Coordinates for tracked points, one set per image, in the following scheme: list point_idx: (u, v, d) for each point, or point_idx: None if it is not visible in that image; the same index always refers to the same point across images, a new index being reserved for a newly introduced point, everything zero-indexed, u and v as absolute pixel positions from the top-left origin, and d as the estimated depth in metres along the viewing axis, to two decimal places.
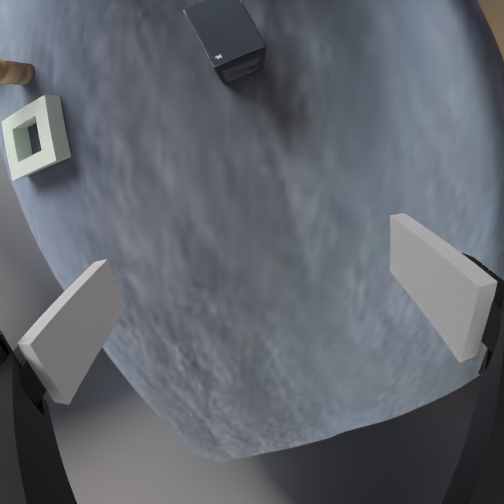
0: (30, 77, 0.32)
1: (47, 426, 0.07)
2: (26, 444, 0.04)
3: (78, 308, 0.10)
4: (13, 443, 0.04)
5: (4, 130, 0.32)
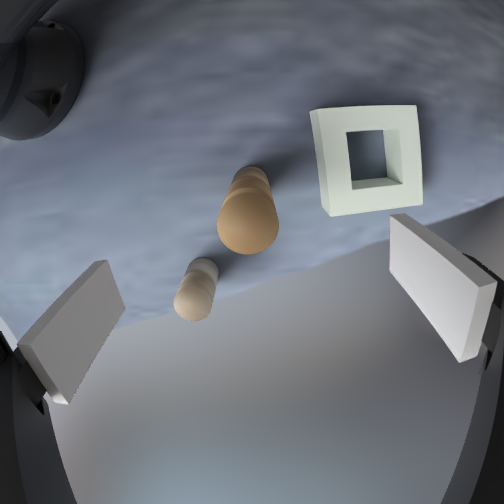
0: (261, 170, 0.30)
1: (47, 426, 0.07)
2: (26, 444, 0.04)
3: (78, 308, 0.10)
4: (13, 443, 0.04)
5: (347, 210, 0.28)
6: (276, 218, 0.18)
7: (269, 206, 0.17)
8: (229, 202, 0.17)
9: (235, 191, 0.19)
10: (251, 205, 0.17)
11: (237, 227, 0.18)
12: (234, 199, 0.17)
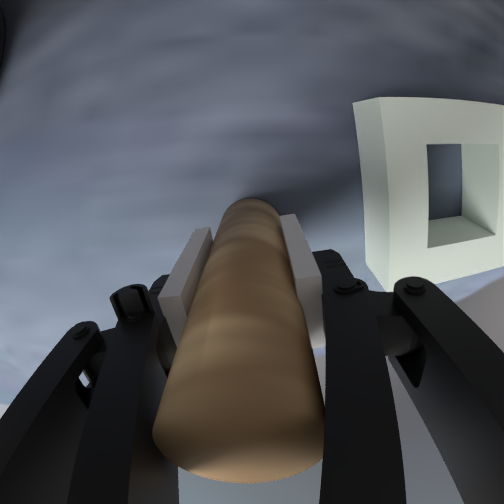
0: (269, 206, 0.17)
1: None
2: (146, 427, 0.05)
3: (201, 267, 0.12)
4: (130, 426, 0.05)
5: None
6: None
7: (310, 418, 0.05)
8: (178, 407, 0.05)
9: (205, 327, 0.07)
10: (251, 417, 0.05)
11: (210, 451, 0.05)
12: (193, 403, 0.05)
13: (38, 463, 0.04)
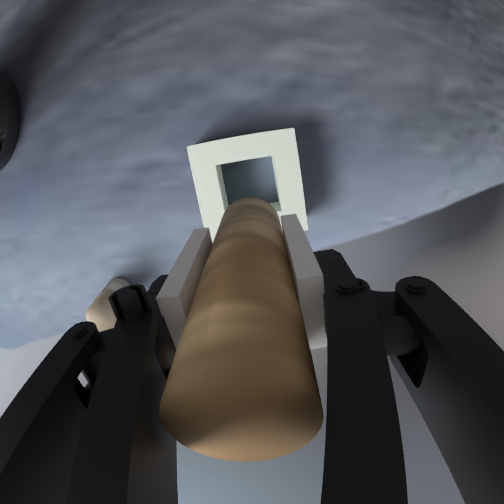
0: (268, 204, 0.18)
1: None
2: (145, 427, 0.05)
3: (199, 268, 0.12)
4: (129, 426, 0.05)
5: None
6: (319, 412, 0.06)
7: (303, 392, 0.05)
8: (184, 381, 0.05)
9: (209, 312, 0.07)
10: (250, 391, 0.05)
11: (213, 427, 0.06)
12: (198, 376, 0.05)
13: (37, 463, 0.04)
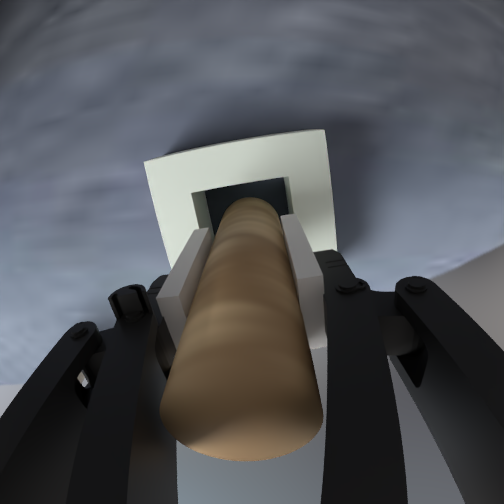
0: (268, 204, 0.18)
1: None
2: (144, 427, 0.05)
3: (199, 268, 0.12)
4: (129, 426, 0.05)
5: None
6: (319, 412, 0.06)
7: (303, 392, 0.05)
8: (185, 381, 0.05)
9: (209, 312, 0.07)
10: (250, 390, 0.05)
11: (213, 427, 0.06)
12: (198, 376, 0.05)
13: (37, 463, 0.04)
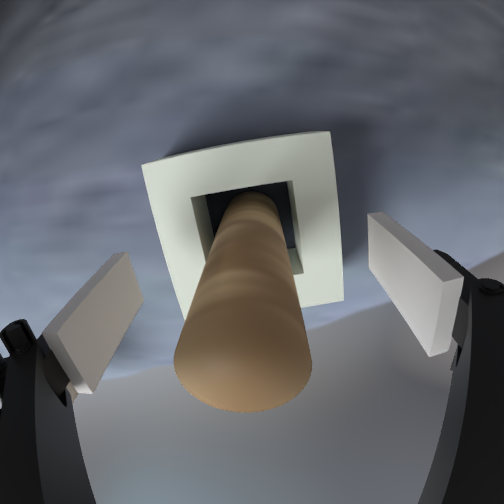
0: (268, 198, 0.19)
1: (69, 418, 0.07)
2: (46, 438, 0.05)
3: (101, 298, 0.11)
4: (33, 437, 0.04)
5: None
6: (308, 358, 0.07)
7: (294, 337, 0.07)
8: (197, 327, 0.07)
9: (216, 278, 0.09)
10: (250, 335, 0.07)
11: (219, 374, 0.08)
12: (208, 322, 0.07)
13: None
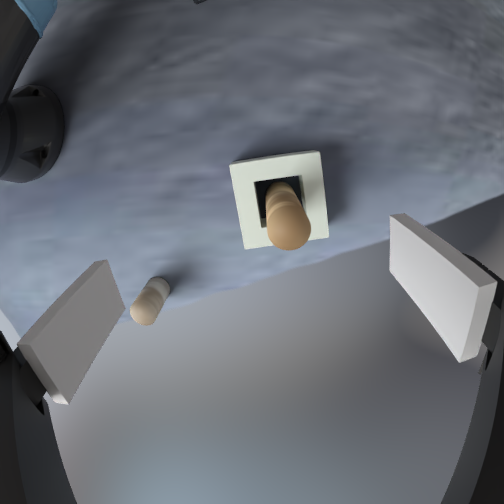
0: None
1: (47, 426, 0.07)
2: (26, 444, 0.04)
3: (78, 308, 0.10)
4: (13, 443, 0.04)
5: (258, 244, 0.36)
6: (309, 224, 0.25)
7: (305, 215, 0.24)
8: (276, 212, 0.24)
9: (278, 204, 0.26)
10: (292, 214, 0.24)
11: (281, 230, 0.25)
12: (280, 210, 0.24)
13: None
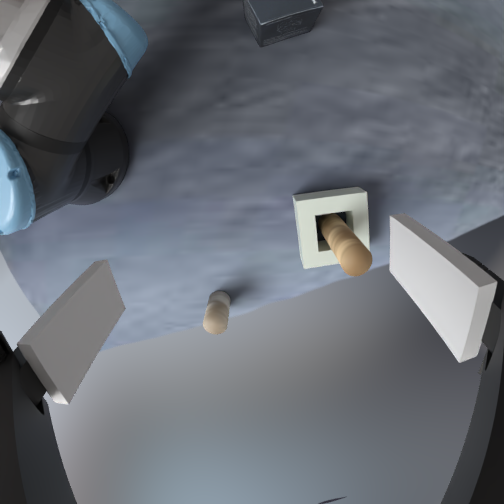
0: (337, 215, 0.44)
1: (47, 426, 0.07)
2: (26, 444, 0.04)
3: (78, 308, 0.10)
4: (13, 443, 0.04)
5: (315, 264, 0.44)
6: (371, 257, 0.32)
7: (369, 251, 0.32)
8: (350, 249, 0.32)
9: (346, 240, 0.34)
10: (360, 251, 0.32)
11: (352, 262, 0.33)
12: (352, 248, 0.32)
13: None
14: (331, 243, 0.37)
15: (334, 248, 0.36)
